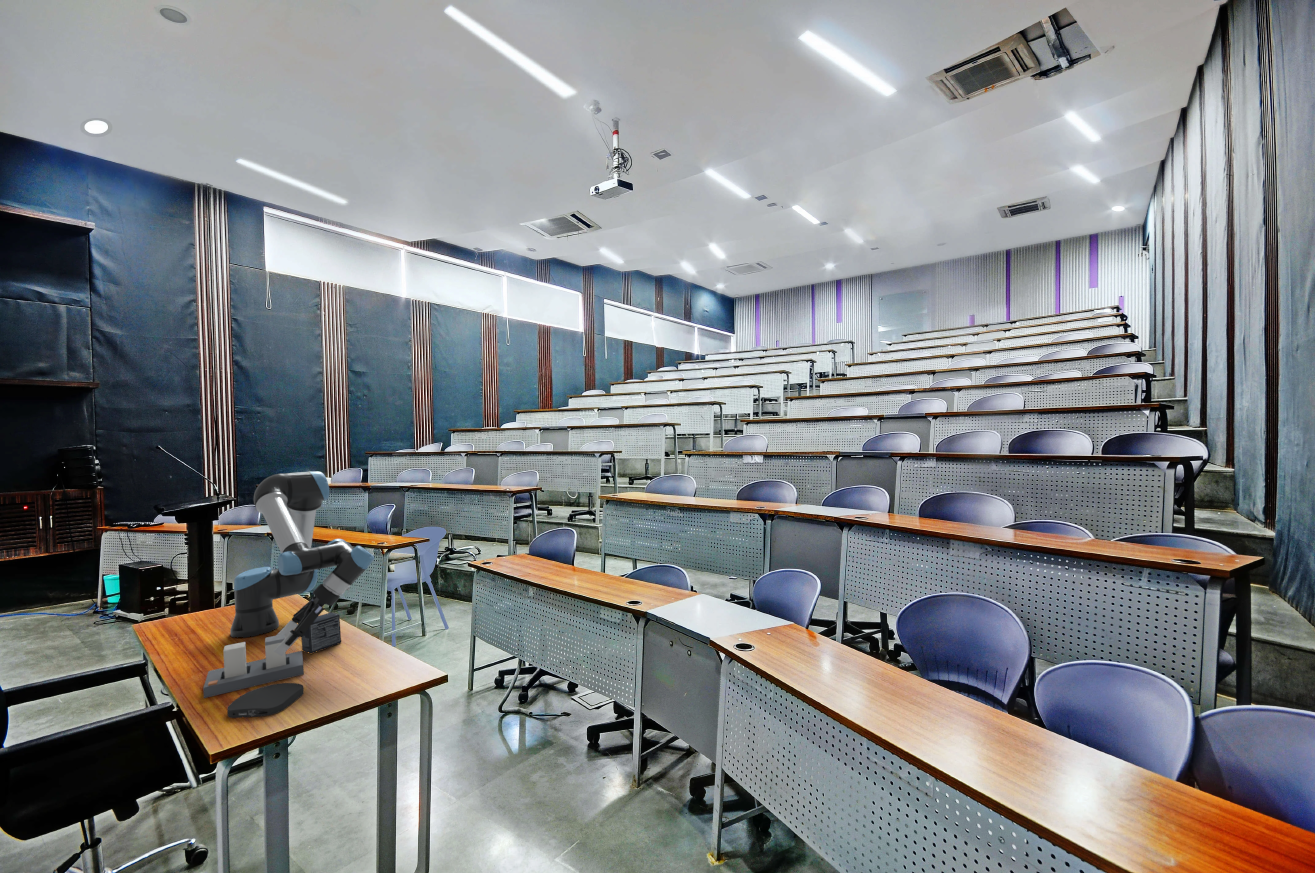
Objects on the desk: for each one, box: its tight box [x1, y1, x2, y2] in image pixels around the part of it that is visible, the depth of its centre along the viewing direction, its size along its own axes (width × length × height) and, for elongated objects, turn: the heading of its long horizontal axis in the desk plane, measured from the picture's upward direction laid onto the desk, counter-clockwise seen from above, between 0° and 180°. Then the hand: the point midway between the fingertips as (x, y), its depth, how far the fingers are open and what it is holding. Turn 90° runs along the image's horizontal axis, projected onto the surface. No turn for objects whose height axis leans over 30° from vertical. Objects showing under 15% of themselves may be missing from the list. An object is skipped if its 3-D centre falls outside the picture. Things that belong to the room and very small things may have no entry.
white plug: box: [264, 634, 287, 669], centre depth 171 cm, size 5×5×11 cm
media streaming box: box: [226, 682, 305, 719], centre depth 151 cm, size 15×15×3 cm
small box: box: [300, 612, 342, 654], centre depth 192 cm, size 11×6×10 cm, turn 149°
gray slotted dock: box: [202, 641, 305, 699], centre depth 168 cm, size 14×24×11 cm, turn 125°
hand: (277, 646), depth 171 cm, fingers open, 13 cm apart
